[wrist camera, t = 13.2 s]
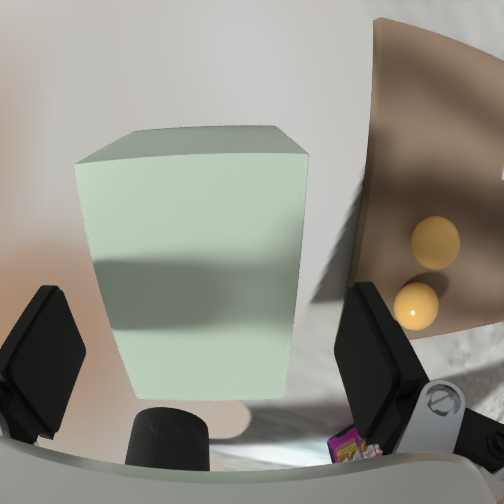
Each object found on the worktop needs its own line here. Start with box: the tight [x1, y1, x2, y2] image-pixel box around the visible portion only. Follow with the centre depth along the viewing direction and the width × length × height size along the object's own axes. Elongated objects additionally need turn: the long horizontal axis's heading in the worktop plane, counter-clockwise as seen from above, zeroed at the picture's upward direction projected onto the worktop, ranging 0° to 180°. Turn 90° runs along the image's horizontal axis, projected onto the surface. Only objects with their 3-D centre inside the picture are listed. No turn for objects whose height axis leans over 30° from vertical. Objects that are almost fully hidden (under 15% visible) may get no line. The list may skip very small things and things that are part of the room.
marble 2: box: [394, 282, 439, 330], centre depth 18 cm, size 3×3×3 cm
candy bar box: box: [327, 424, 382, 464], centre depth 22 cm, size 11×5×16 cm, turn 140°
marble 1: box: [411, 216, 461, 270], centre depth 16 cm, size 3×3×3 cm
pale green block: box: [74, 126, 309, 401], centre depth 14 cm, size 11×7×7 cm, turn 179°
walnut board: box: [336, 18, 504, 340], centre depth 18 cm, size 20×22×1 cm
